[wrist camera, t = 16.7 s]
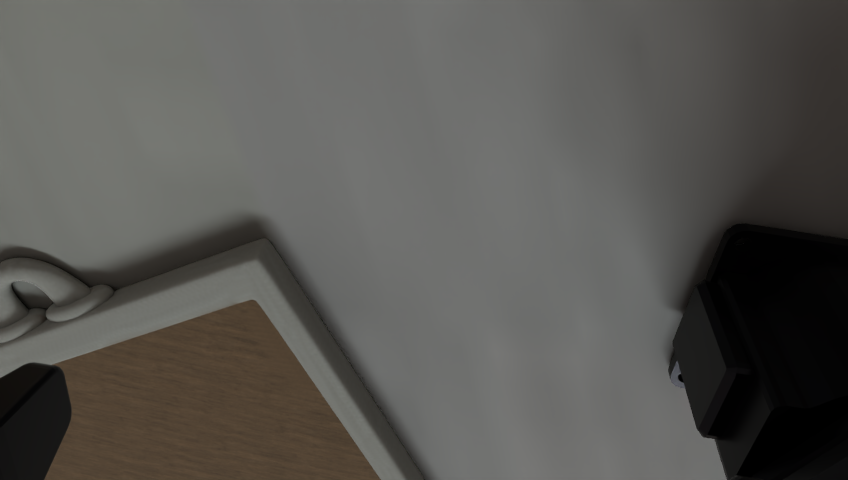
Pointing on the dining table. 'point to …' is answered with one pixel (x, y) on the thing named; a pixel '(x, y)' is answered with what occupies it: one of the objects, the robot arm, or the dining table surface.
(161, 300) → the picture frame
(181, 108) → the dining table surface
